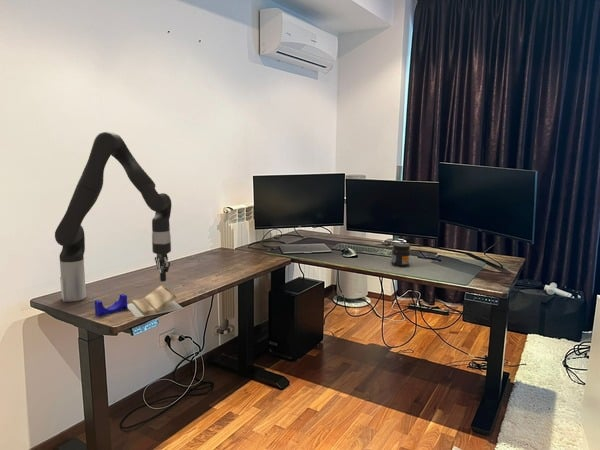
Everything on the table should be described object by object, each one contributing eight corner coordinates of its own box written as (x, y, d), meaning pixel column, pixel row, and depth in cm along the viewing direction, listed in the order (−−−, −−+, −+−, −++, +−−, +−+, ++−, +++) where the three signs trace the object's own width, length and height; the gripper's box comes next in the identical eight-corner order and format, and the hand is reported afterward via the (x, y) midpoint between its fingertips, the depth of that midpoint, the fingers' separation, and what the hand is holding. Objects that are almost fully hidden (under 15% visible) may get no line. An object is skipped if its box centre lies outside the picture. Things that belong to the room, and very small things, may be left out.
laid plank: (143, 315, 183) (143, 311, 183) (132, 303, 196) (132, 300, 196) (156, 313, 186) (156, 309, 186) (144, 301, 199) (144, 297, 199)
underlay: (136, 318, 181) (136, 317, 181) (124, 305, 195) (124, 304, 195) (183, 309, 192) (183, 308, 192) (169, 297, 206) (169, 296, 206)
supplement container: (413, 266, 265) (414, 246, 263) (398, 268, 261) (399, 247, 259) (402, 262, 275) (403, 242, 273) (387, 263, 271) (388, 243, 269)
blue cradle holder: (121, 306, 194) (121, 292, 193) (127, 309, 191) (126, 295, 190) (93, 314, 185) (92, 299, 184) (99, 317, 182) (98, 302, 181)
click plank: (158, 311, 186) (156, 308, 186) (146, 300, 199) (144, 297, 199) (176, 297, 190) (174, 294, 189) (163, 287, 203) (161, 284, 202)
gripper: (147, 239, 199) (149, 278, 202) (157, 245, 188) (159, 286, 191) (164, 237, 203) (166, 275, 206) (175, 243, 192) (177, 283, 195)
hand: (163, 280), depth 199 cm, fingers closed
